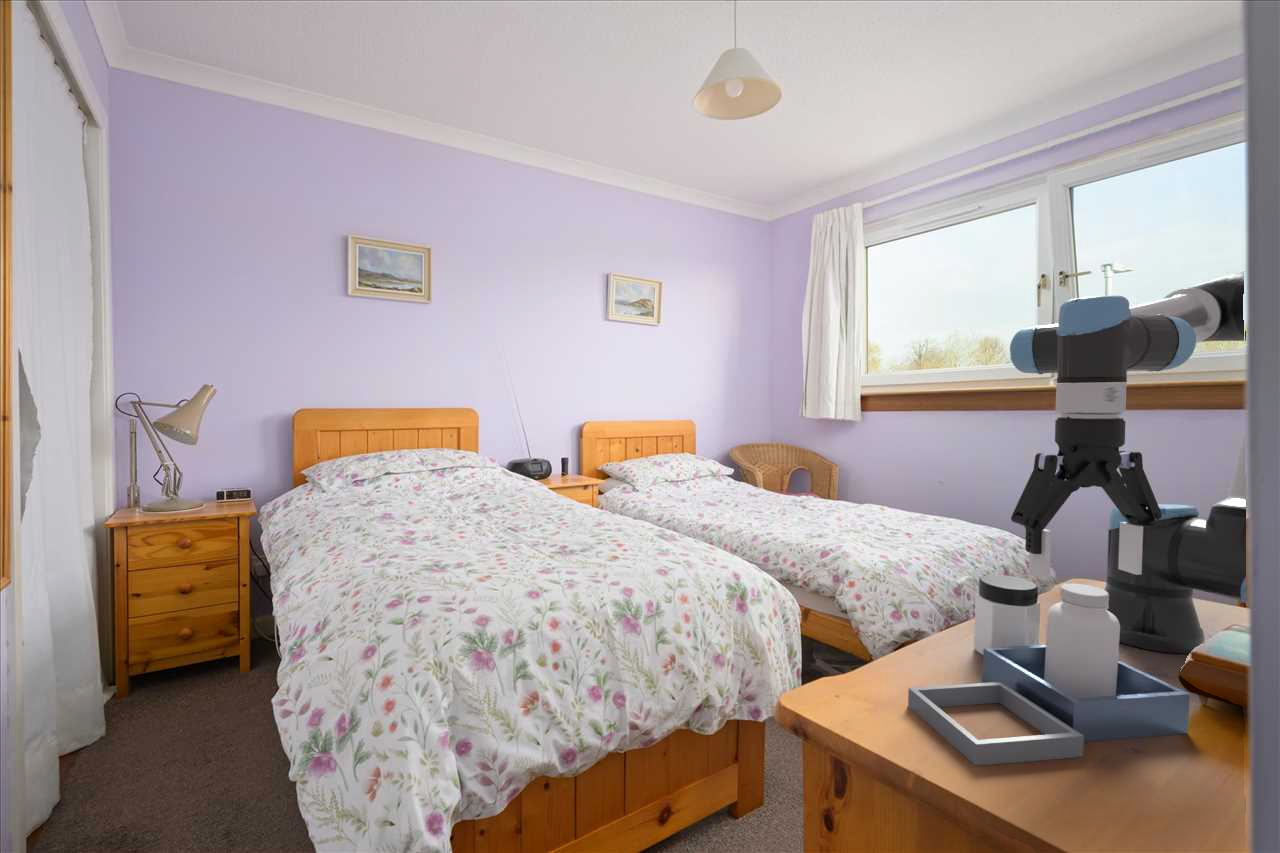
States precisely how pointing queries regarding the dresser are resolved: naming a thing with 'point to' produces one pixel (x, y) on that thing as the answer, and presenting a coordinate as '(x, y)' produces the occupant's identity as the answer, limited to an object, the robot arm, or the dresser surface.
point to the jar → (1006, 613)
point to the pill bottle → (1082, 643)
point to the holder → (1001, 750)
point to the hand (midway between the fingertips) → (1084, 574)
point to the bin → (1126, 715)
